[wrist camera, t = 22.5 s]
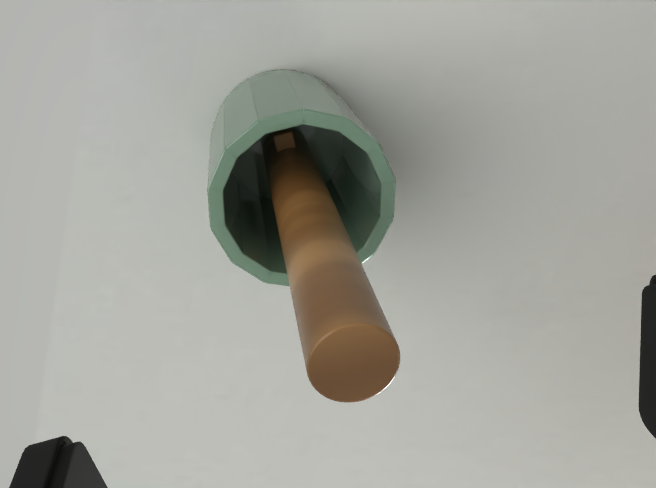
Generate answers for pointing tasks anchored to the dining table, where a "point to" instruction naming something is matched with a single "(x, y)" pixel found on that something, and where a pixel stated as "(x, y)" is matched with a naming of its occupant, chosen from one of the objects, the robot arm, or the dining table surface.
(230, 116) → the crock
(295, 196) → the wooden dowel rod
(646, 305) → the robot arm
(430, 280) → the dining table surface
